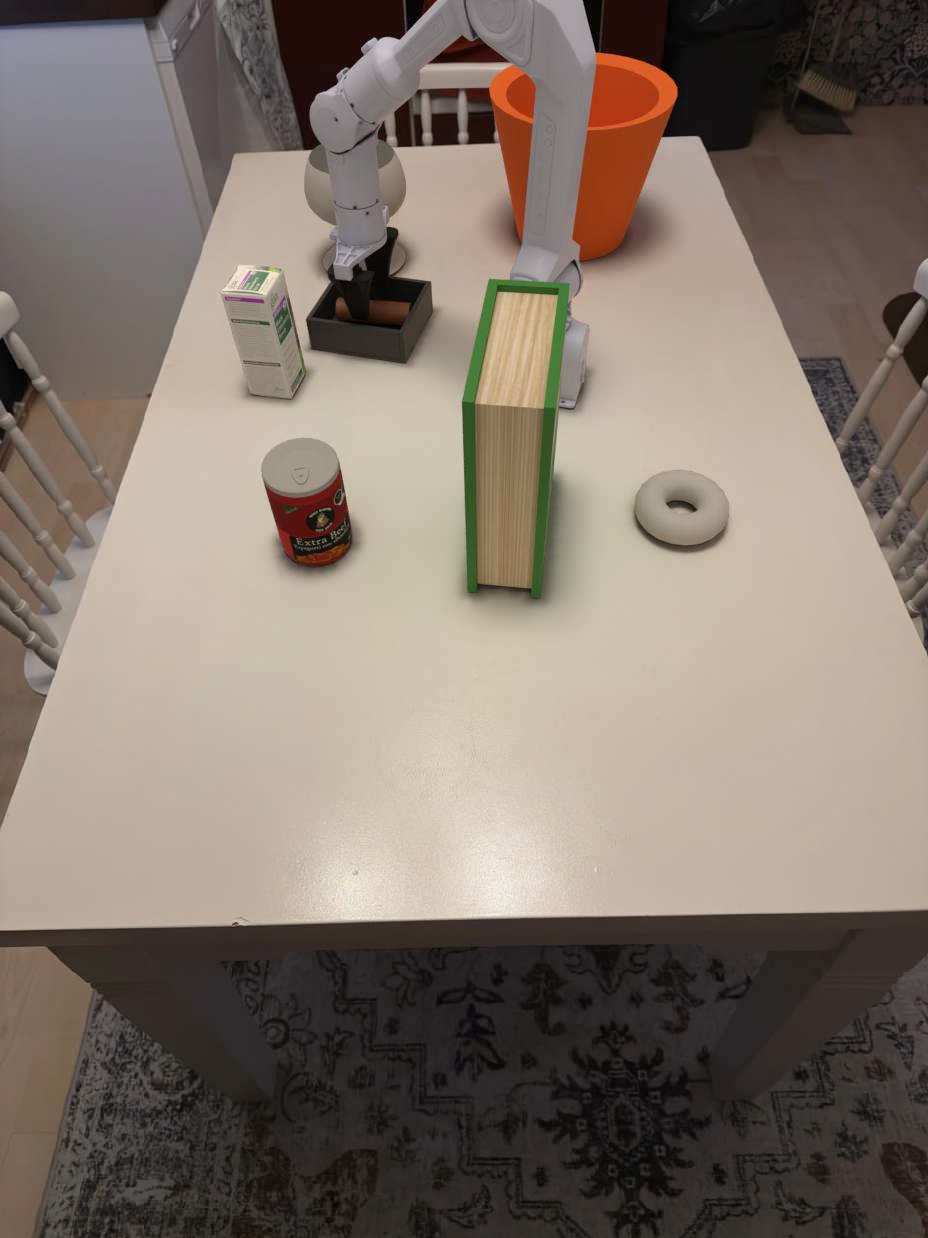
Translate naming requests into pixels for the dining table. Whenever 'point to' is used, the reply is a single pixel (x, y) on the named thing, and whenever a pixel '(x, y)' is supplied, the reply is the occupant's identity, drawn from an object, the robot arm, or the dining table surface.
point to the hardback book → (512, 431)
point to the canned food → (308, 500)
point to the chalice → (322, 199)
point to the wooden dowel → (377, 312)
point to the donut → (681, 525)
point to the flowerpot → (592, 144)
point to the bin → (372, 337)
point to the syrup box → (264, 330)
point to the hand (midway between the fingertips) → (370, 301)
